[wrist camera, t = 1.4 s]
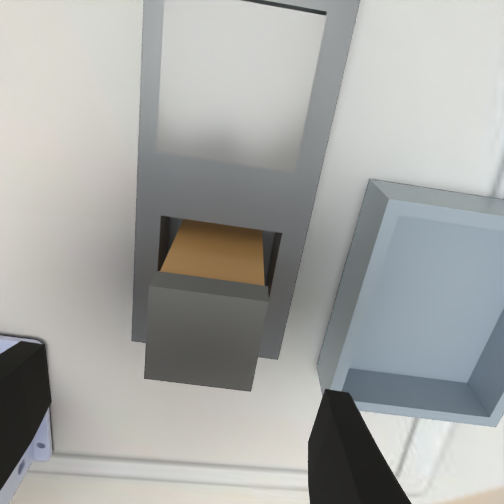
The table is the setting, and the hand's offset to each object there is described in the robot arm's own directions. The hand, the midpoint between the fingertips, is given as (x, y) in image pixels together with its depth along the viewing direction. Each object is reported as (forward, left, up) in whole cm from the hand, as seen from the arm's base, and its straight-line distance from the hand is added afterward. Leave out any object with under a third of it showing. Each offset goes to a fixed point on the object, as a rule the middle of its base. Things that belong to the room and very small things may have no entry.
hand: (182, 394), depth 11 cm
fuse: (+7, 0, -10) cm, 13 cm away
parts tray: (-2, -11, -11) cm, 16 cm away
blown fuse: (-1, 0, -10) cm, 10 cm away
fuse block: (+3, 0, -11) cm, 11 cm away
